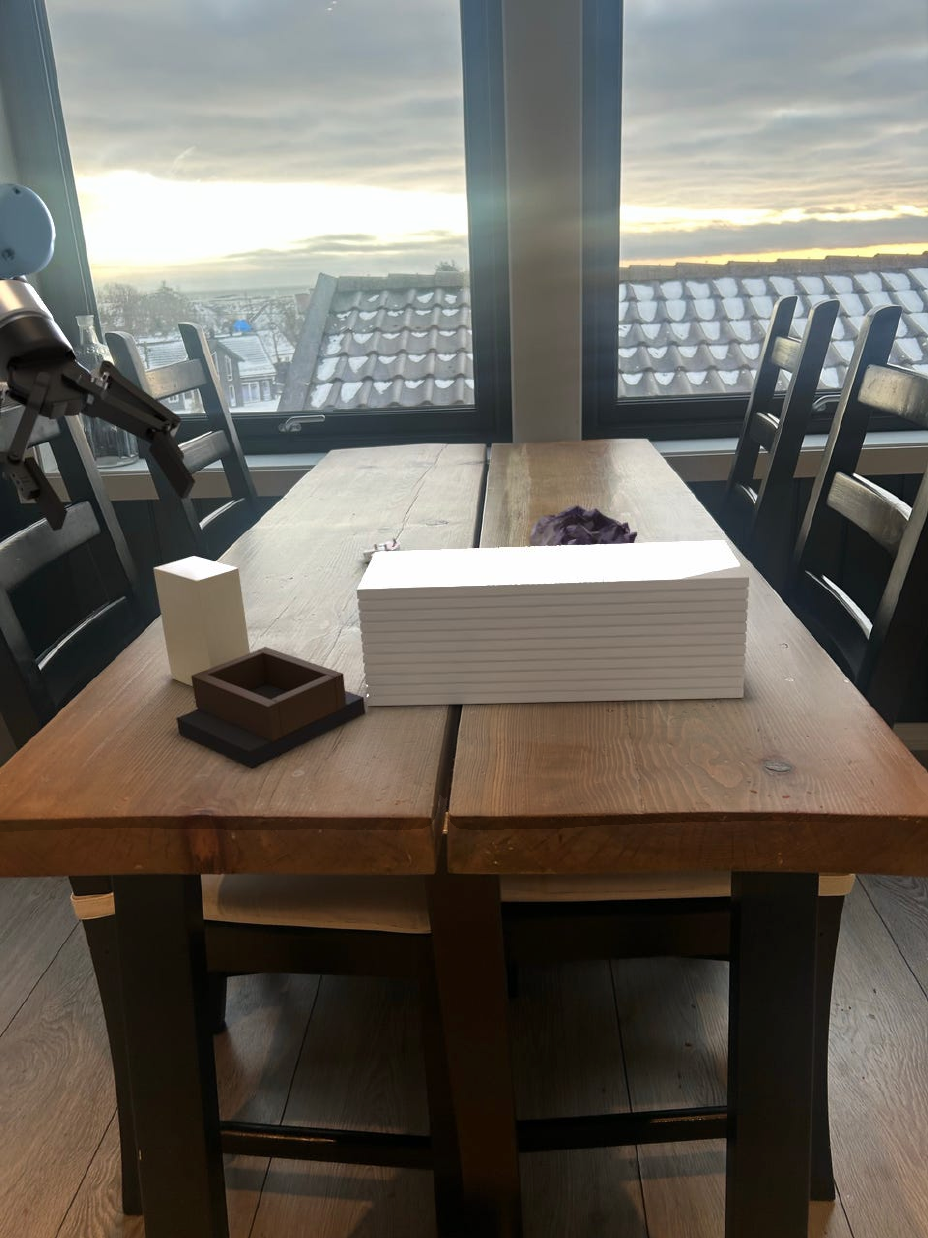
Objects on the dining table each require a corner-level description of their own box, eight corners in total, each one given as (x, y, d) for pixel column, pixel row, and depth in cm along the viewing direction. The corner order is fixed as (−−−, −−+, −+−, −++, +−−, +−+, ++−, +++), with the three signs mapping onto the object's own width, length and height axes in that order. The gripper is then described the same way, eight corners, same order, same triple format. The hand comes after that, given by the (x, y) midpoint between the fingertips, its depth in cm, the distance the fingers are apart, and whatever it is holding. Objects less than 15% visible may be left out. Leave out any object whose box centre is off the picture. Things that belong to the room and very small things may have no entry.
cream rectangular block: (214, 696, 90) (197, 580, 87) (171, 678, 95) (152, 567, 91) (254, 679, 93) (238, 567, 90) (210, 663, 98) (193, 555, 94)
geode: (678, 618, 103) (669, 527, 99) (570, 644, 102) (556, 553, 98) (618, 556, 121) (608, 477, 117) (526, 577, 120) (513, 498, 116)
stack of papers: (367, 706, 87) (356, 589, 83) (384, 658, 97) (374, 552, 93) (743, 698, 84) (749, 577, 81) (720, 650, 94) (724, 540, 90)
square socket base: (253, 769, 77) (245, 716, 76) (177, 733, 84) (169, 684, 82) (366, 713, 85) (362, 665, 84) (289, 684, 92) (284, 639, 90)
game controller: (362, 556, 130) (360, 536, 129) (449, 547, 132) (448, 528, 131) (366, 568, 124) (365, 548, 123) (457, 559, 126) (456, 539, 125)
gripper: (124, 352, 111) (223, 500, 107) (-115, 382, 94) (-8, 560, 89) (142, 302, 106) (246, 456, 101) (-108, 324, 88) (6, 510, 84)
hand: (127, 505), depth 95 cm, fingers open, 13 cm apart
